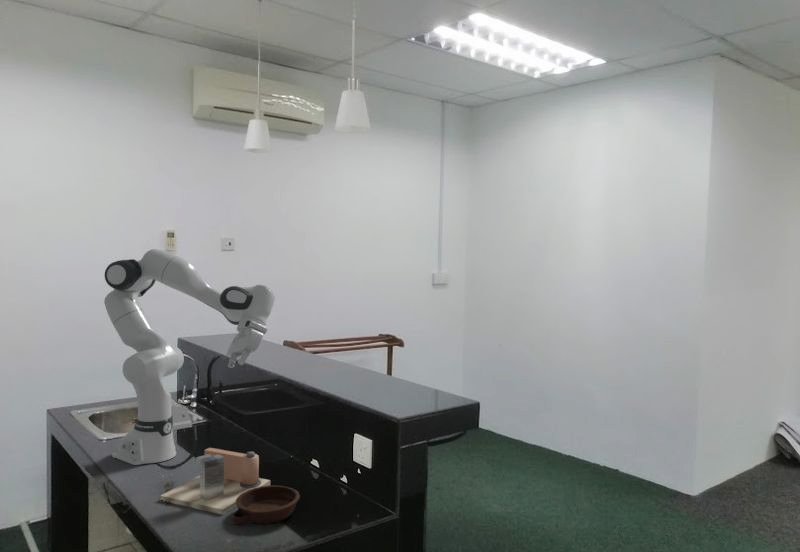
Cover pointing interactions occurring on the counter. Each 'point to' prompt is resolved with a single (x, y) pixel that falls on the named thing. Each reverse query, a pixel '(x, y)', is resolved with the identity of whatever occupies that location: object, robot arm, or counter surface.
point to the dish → (265, 504)
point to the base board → (222, 504)
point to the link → (238, 465)
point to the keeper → (211, 476)
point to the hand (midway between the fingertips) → (235, 365)
